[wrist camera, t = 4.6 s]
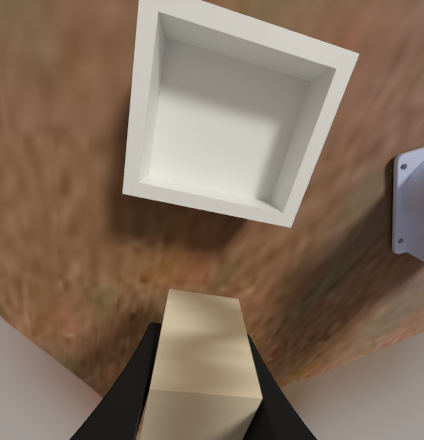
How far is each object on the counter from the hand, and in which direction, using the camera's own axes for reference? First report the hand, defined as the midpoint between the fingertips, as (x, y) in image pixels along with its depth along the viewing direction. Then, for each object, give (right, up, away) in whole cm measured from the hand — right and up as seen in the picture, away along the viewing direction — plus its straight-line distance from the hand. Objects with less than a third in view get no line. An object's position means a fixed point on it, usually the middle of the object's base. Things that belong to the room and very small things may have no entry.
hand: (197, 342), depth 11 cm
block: (0, +1, +1) cm, 1 cm away
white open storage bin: (+1, +13, +5) cm, 14 cm away
